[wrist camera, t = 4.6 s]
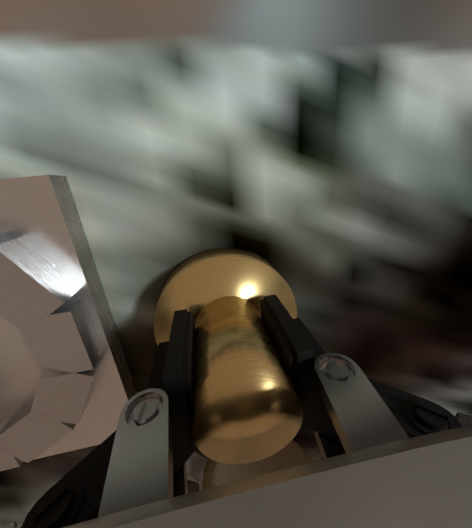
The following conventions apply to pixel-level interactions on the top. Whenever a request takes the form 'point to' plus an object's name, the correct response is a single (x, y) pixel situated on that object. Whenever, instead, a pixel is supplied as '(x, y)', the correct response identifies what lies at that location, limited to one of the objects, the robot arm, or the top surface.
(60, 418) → the carrier
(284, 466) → the ceramic mug
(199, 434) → the brass door knob
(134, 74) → the top surface
